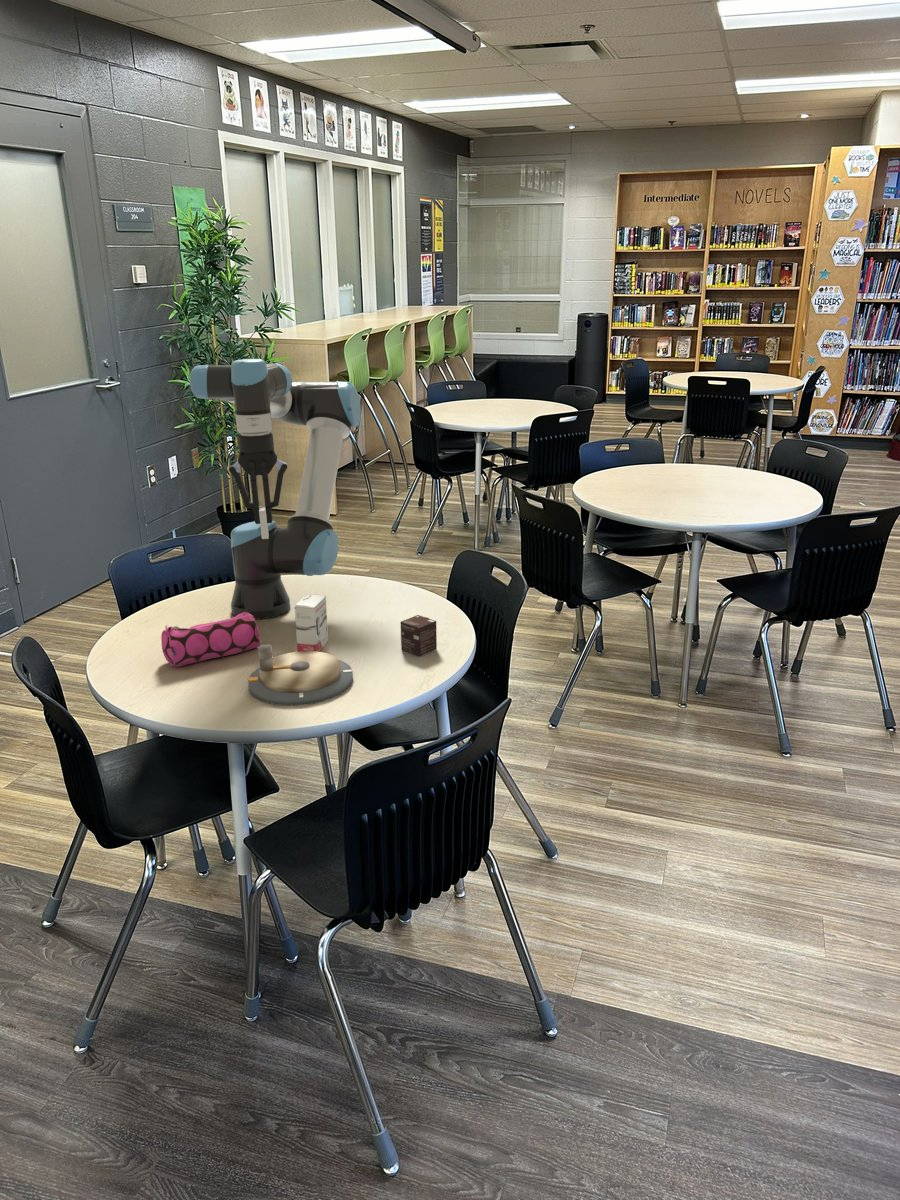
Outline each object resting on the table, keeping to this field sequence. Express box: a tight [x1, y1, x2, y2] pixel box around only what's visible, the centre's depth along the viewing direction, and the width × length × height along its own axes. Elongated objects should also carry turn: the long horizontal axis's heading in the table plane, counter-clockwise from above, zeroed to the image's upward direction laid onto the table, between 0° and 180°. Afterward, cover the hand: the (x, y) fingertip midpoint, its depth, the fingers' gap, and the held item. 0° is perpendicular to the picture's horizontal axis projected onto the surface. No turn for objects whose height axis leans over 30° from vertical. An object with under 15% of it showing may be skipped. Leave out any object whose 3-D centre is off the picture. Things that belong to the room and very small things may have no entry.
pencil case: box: [160, 612, 262, 667], centre depth 203 cm, size 21×10×10 cm, turn 124°
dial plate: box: [247, 658, 354, 706], centre depth 190 cm, size 22×22×2 cm
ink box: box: [294, 593, 329, 652], centre depth 206 cm, size 9×5×12 cm, turn 168°
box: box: [400, 614, 438, 658], centre depth 204 cm, size 6×6×7 cm
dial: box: [257, 643, 341, 693], centre depth 188 cm, size 17×17×7 cm
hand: (265, 537), depth 202 cm, fingers closed
